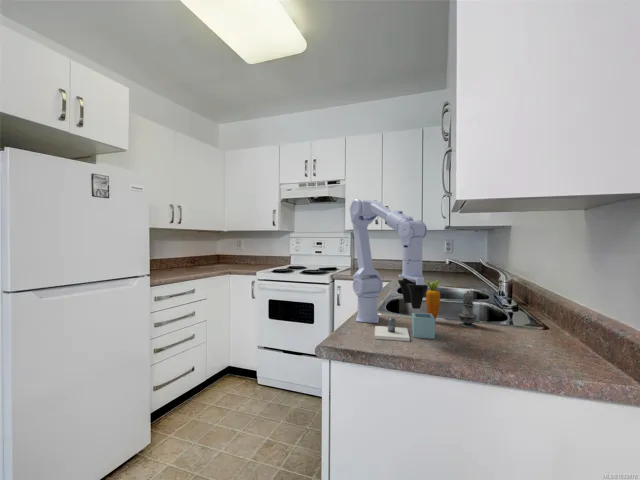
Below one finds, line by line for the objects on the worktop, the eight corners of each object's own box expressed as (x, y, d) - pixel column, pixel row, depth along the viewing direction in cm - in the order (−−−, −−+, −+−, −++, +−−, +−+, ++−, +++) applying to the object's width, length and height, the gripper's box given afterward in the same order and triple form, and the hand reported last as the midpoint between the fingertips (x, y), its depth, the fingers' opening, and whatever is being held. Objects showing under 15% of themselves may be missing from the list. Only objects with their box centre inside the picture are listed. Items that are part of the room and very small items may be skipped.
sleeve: (411, 331, 97) (411, 312, 97) (431, 332, 96) (431, 313, 96) (413, 337, 91) (413, 317, 91) (434, 338, 90) (434, 318, 90)
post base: (375, 328, 99) (375, 313, 99) (406, 331, 97) (407, 315, 97) (374, 338, 90) (374, 321, 90) (409, 341, 88) (409, 324, 88)
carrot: (422, 321, 108) (423, 279, 108) (429, 319, 112) (430, 278, 112) (436, 324, 105) (436, 281, 105) (442, 322, 108) (443, 280, 108)
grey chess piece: (478, 328, 100) (478, 292, 100) (459, 327, 102) (459, 291, 102) (475, 324, 106) (476, 289, 106) (457, 322, 108) (457, 288, 108)
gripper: (392, 258, 98) (392, 300, 99) (406, 262, 84) (406, 311, 84) (414, 258, 99) (414, 300, 99) (431, 262, 84) (431, 311, 84)
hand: (411, 305), depth 91 cm, fingers open, 7 cm apart
